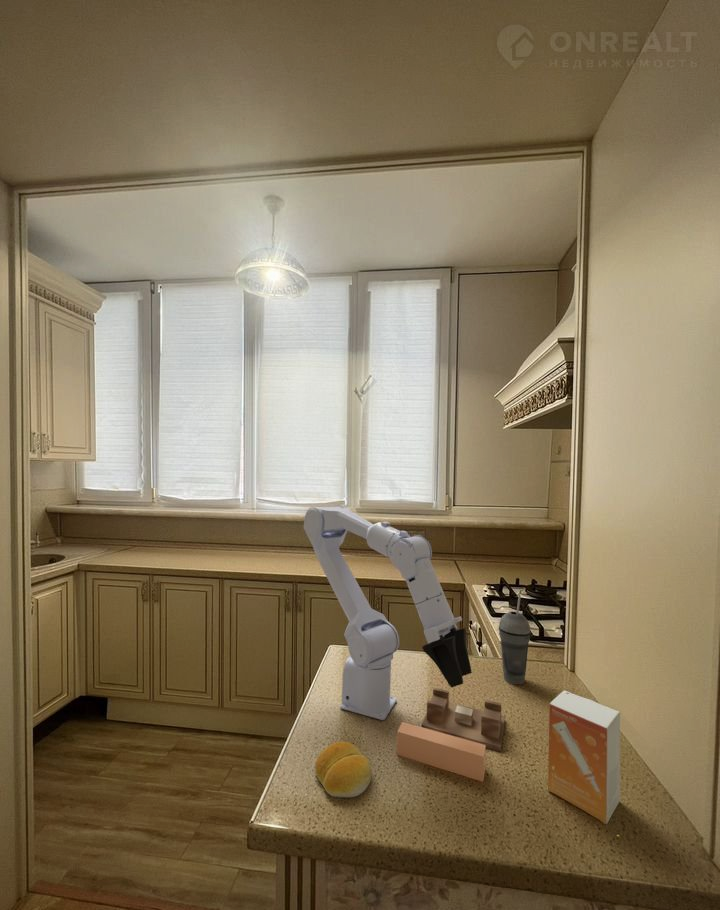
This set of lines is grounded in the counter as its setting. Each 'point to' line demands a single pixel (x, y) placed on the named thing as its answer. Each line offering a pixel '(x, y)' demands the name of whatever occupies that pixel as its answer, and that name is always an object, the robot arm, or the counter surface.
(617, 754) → the small box
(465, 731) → the stand
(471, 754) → the bar
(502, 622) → the beverage cup
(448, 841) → the counter surface
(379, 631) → the robot arm
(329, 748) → the bread roll
